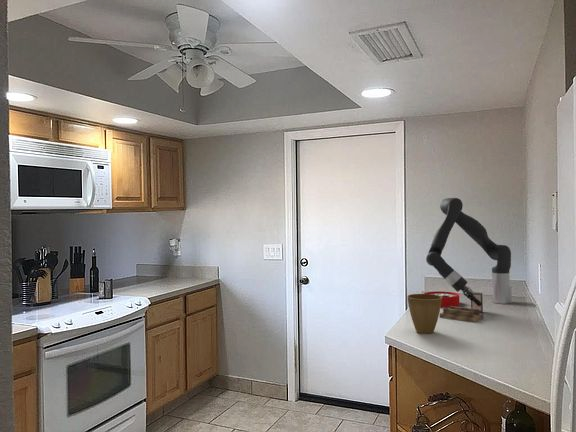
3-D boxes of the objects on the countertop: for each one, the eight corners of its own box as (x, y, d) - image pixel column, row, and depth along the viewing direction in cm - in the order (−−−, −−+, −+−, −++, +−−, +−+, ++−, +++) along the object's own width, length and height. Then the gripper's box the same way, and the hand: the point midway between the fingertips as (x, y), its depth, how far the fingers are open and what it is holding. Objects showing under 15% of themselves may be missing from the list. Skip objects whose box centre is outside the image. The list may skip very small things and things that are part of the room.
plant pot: (417, 337, 203) (416, 300, 203) (402, 329, 217) (401, 294, 217) (449, 334, 206) (448, 298, 206) (432, 326, 220) (431, 292, 220)
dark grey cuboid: (471, 312, 249) (470, 293, 249) (471, 310, 252) (471, 292, 252) (482, 312, 246) (482, 293, 246) (482, 311, 250) (482, 292, 250)
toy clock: (427, 297, 264) (420, 291, 284) (427, 307, 264) (420, 301, 284) (463, 297, 263) (454, 291, 283) (463, 307, 263) (454, 300, 283)
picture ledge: (439, 317, 239) (439, 308, 239) (449, 313, 246) (448, 305, 246) (474, 322, 226) (474, 313, 226) (483, 318, 233) (483, 309, 233)
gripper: (459, 277, 246) (485, 302, 241) (462, 274, 259) (487, 297, 254) (449, 287, 248) (474, 312, 243) (452, 283, 261) (476, 306, 256)
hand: (480, 304), depth 248 cm, fingers closed on dark grey cuboid, 3 cm apart
